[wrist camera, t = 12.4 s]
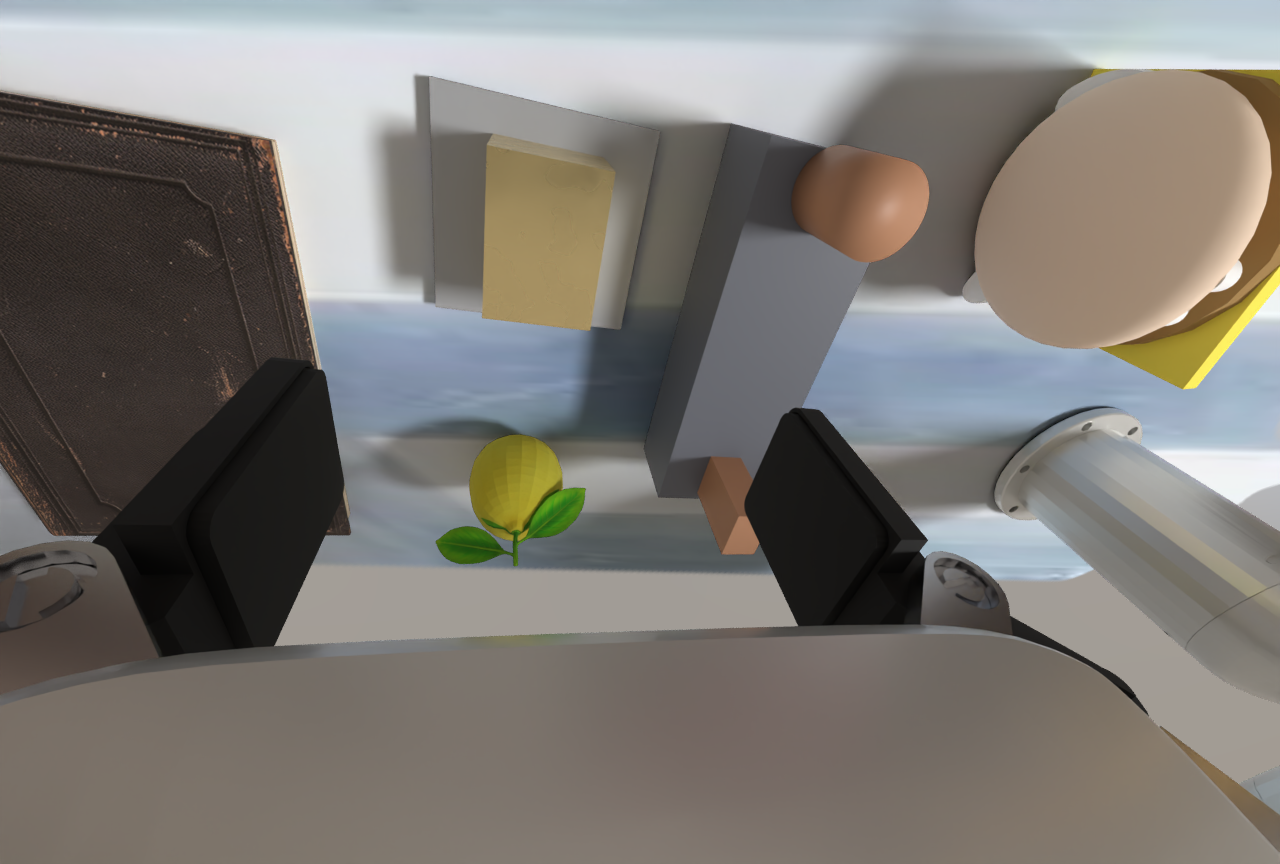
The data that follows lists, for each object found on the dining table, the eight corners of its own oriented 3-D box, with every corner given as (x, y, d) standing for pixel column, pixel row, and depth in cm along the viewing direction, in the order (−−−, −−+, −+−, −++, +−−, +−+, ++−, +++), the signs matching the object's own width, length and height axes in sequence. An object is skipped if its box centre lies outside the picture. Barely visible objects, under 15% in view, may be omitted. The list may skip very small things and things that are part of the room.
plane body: (856, 148, 25) (1004, 185, 17) (733, 453, 37) (789, 559, 29) (733, 116, 23) (837, 141, 15) (643, 448, 35) (677, 560, 27)
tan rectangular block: (603, 157, 23) (615, 171, 20) (582, 299, 27) (589, 330, 24) (492, 133, 22) (486, 144, 18) (487, 286, 25) (482, 318, 22)
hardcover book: (290, 134, 21) (267, 141, 19) (359, 511, 34) (349, 536, 32) (-233, 39, 17) (-323, 36, 15) (70, 508, 30) (40, 536, 28)
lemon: (450, 463, 32) (425, 591, 25) (484, 396, 30) (467, 514, 22) (543, 491, 35) (547, 612, 28) (581, 432, 33) (597, 547, 25)
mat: (657, 130, 23) (660, 132, 23) (618, 325, 29) (620, 329, 28) (431, 76, 20) (429, 76, 20) (437, 302, 26) (435, 307, 26)
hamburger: (1003, 68, 24) (1304, 69, 15) (1142, 69, 25) (1502, 71, 16) (919, 300, 31) (1086, 399, 22) (1030, 292, 33) (1234, 383, 23)
